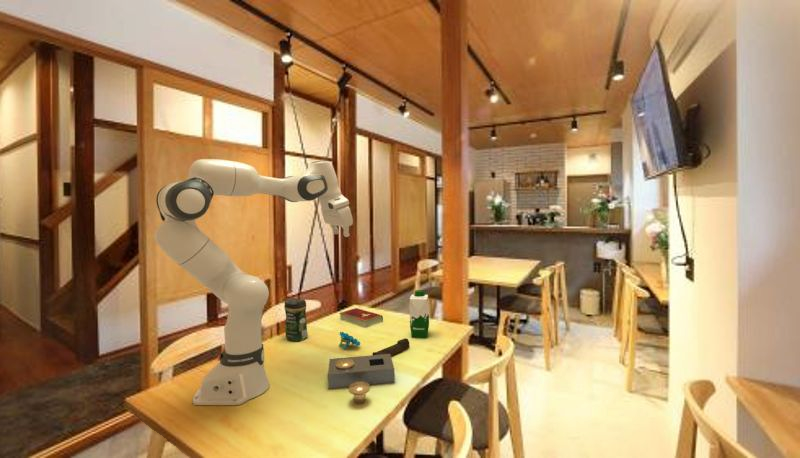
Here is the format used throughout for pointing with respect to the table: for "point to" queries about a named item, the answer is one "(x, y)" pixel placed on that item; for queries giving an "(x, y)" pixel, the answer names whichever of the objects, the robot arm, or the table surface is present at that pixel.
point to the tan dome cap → (359, 391)
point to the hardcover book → (361, 317)
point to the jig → (360, 370)
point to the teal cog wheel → (347, 339)
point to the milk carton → (419, 314)
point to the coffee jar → (295, 319)
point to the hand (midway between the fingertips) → (341, 235)
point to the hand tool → (395, 348)
